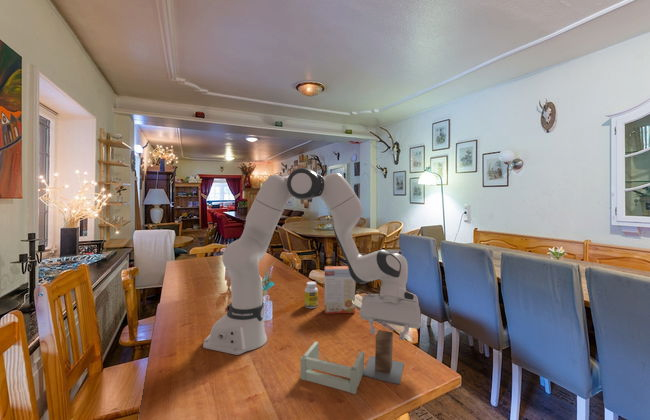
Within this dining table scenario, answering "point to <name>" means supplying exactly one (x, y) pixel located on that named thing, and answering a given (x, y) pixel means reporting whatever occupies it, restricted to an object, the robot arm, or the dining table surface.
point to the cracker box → (339, 290)
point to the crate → (331, 371)
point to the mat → (392, 377)
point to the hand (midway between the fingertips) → (386, 336)
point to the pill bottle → (311, 295)
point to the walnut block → (383, 351)
